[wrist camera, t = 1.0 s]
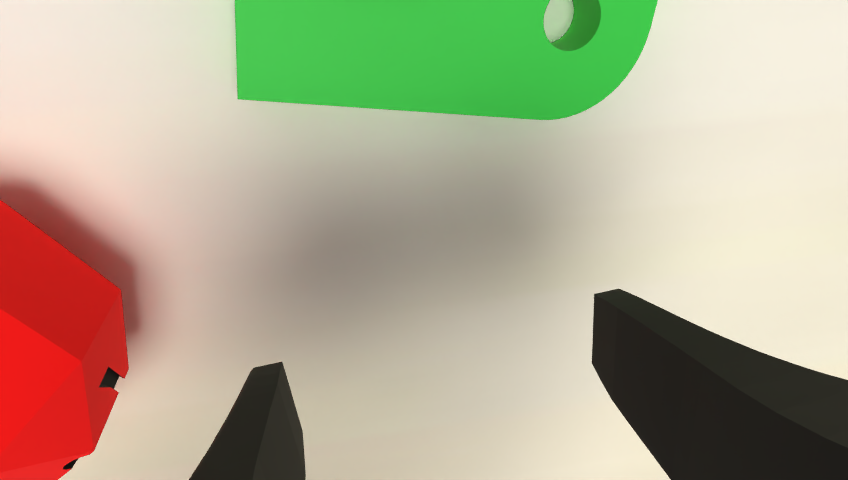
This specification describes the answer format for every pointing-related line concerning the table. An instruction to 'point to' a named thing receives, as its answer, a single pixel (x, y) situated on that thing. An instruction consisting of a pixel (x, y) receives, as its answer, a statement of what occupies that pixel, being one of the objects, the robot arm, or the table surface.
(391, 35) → the mechanical part
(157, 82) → the table surface
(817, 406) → the robot arm
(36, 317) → the red black angular block
